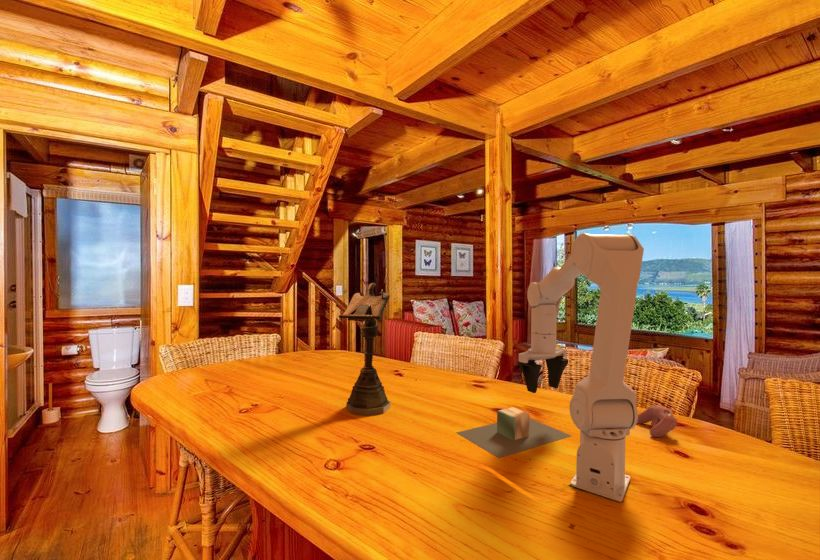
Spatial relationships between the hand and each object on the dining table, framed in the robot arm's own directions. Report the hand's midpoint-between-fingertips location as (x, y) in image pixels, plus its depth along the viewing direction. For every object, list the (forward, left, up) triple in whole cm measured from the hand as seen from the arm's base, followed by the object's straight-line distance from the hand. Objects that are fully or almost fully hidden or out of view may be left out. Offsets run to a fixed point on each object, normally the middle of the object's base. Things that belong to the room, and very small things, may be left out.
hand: (542, 389), depth 91 cm
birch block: (-7, +3, -6) cm, 10 cm away
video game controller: (+16, -22, -10) cm, 29 cm away
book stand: (-18, +41, -10) cm, 45 cm away
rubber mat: (-9, +3, -9) cm, 13 cm away
